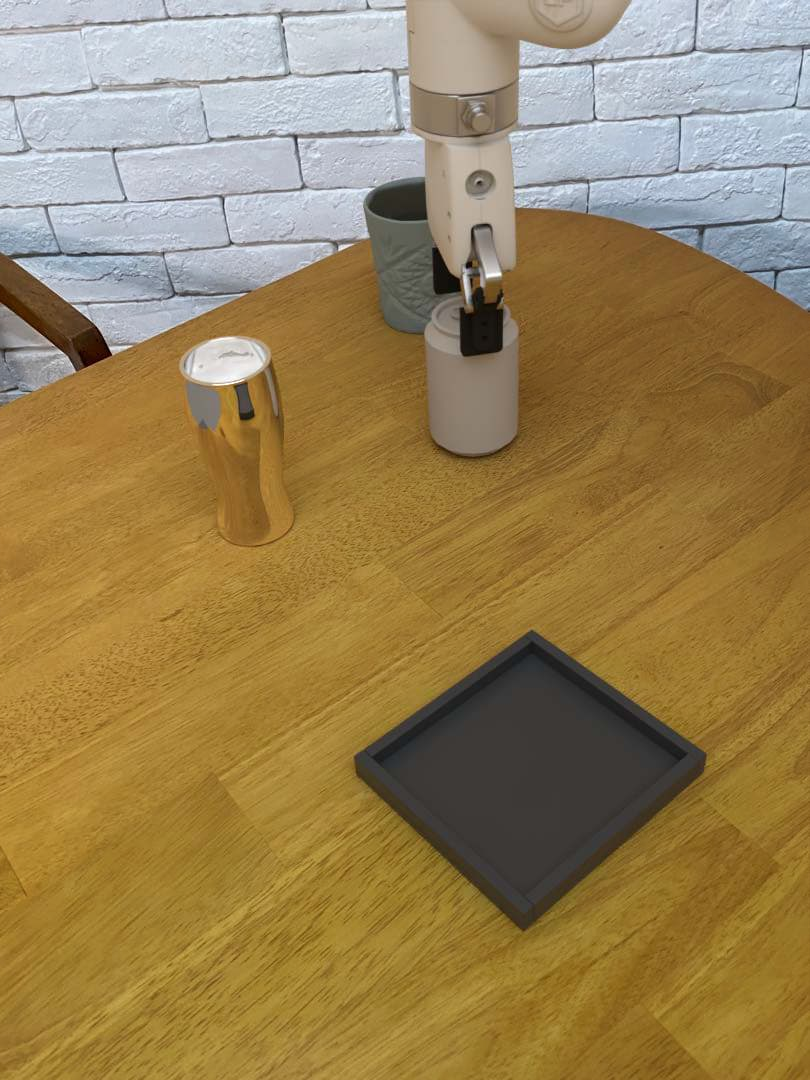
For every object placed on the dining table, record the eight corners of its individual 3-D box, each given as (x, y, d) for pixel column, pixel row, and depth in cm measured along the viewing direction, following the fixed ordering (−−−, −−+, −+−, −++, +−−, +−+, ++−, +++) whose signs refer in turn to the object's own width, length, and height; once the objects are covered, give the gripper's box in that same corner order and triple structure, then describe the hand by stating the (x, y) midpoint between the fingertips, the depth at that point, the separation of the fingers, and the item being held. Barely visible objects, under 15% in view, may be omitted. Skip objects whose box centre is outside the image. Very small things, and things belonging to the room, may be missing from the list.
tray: (531, 647, 78) (531, 628, 76) (704, 772, 69) (707, 753, 68) (355, 774, 70) (353, 756, 69) (523, 932, 62) (523, 914, 60)
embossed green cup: (448, 345, 108) (444, 228, 100) (354, 327, 111) (343, 212, 103) (488, 296, 114) (487, 182, 107) (399, 280, 118) (391, 169, 110)
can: (503, 469, 93) (502, 342, 85) (418, 454, 95) (409, 329, 87) (528, 418, 98) (529, 294, 90) (446, 405, 100) (441, 283, 92)
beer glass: (278, 557, 86) (249, 392, 76) (197, 542, 88) (158, 379, 78) (313, 501, 91) (289, 339, 81) (235, 488, 93) (203, 328, 83)
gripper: (552, 144, 72) (543, 372, 83) (486, 56, 85) (486, 264, 96) (437, 158, 71) (443, 386, 82) (388, 68, 84) (399, 276, 95)
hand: (466, 320), depth 89 cm, fingers open, 9 cm apart
